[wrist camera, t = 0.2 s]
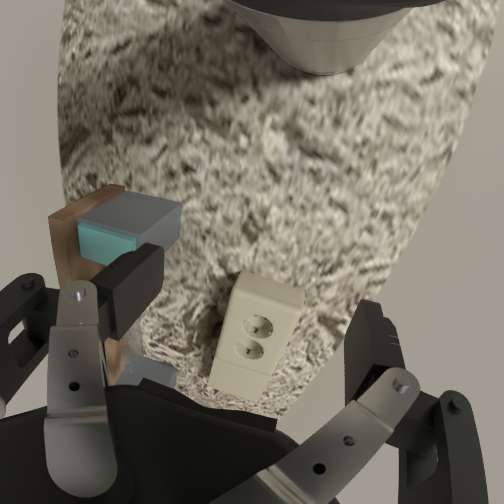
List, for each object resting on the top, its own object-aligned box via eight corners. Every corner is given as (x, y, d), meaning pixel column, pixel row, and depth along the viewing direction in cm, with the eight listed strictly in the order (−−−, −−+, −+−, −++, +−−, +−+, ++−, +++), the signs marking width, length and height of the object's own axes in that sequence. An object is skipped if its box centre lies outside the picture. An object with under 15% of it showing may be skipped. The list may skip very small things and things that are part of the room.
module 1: (124, 190, 31) (73, 220, 24) (181, 202, 30) (137, 238, 23) (124, 223, 33) (77, 258, 26) (179, 237, 32) (138, 279, 25)
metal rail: (124, 223, 33) (107, 236, 30) (135, 226, 33) (118, 239, 30) (135, 353, 44) (124, 368, 41) (143, 356, 44) (133, 372, 41)
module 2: (135, 353, 44) (108, 392, 36) (176, 368, 43) (152, 412, 36) (137, 368, 46) (113, 406, 38) (176, 383, 45) (155, 424, 38)
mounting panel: (110, 183, 31) (48, 216, 23) (124, 186, 31) (62, 220, 22) (127, 366, 46) (99, 409, 38) (138, 370, 46) (109, 414, 37)
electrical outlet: (204, 390, 38) (231, 289, 29) (214, 369, 42) (241, 267, 33) (255, 407, 38) (302, 313, 29) (261, 385, 41) (306, 289, 32)
